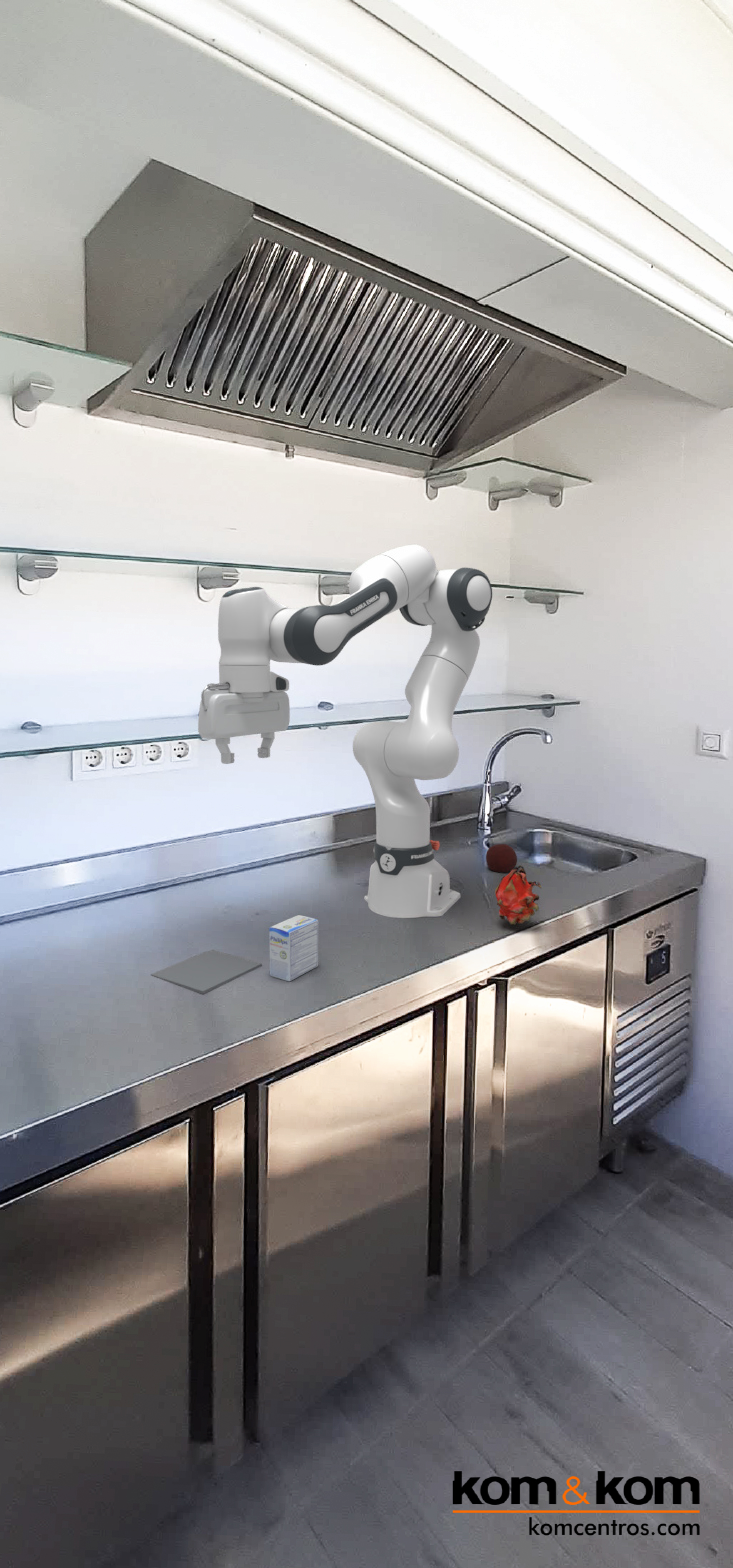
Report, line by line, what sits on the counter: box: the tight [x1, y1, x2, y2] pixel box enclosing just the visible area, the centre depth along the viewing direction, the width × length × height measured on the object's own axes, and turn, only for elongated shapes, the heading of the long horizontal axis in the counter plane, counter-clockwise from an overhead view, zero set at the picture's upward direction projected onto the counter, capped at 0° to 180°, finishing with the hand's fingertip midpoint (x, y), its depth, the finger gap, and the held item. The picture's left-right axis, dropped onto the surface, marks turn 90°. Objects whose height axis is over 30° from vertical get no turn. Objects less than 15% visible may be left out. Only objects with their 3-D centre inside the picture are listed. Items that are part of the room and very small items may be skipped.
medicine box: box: [268, 914, 319, 982], centre depth 138 cm, size 8×4×9 cm, turn 146°
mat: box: [150, 949, 263, 995], centre depth 139 cm, size 14×12×1 cm
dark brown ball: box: [485, 843, 518, 873], centre depth 201 cm, size 7×8×7 cm
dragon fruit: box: [494, 865, 542, 926], centre depth 162 cm, size 8×8×12 cm
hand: (246, 760), depth 146 cm, fingers open, 8 cm apart
